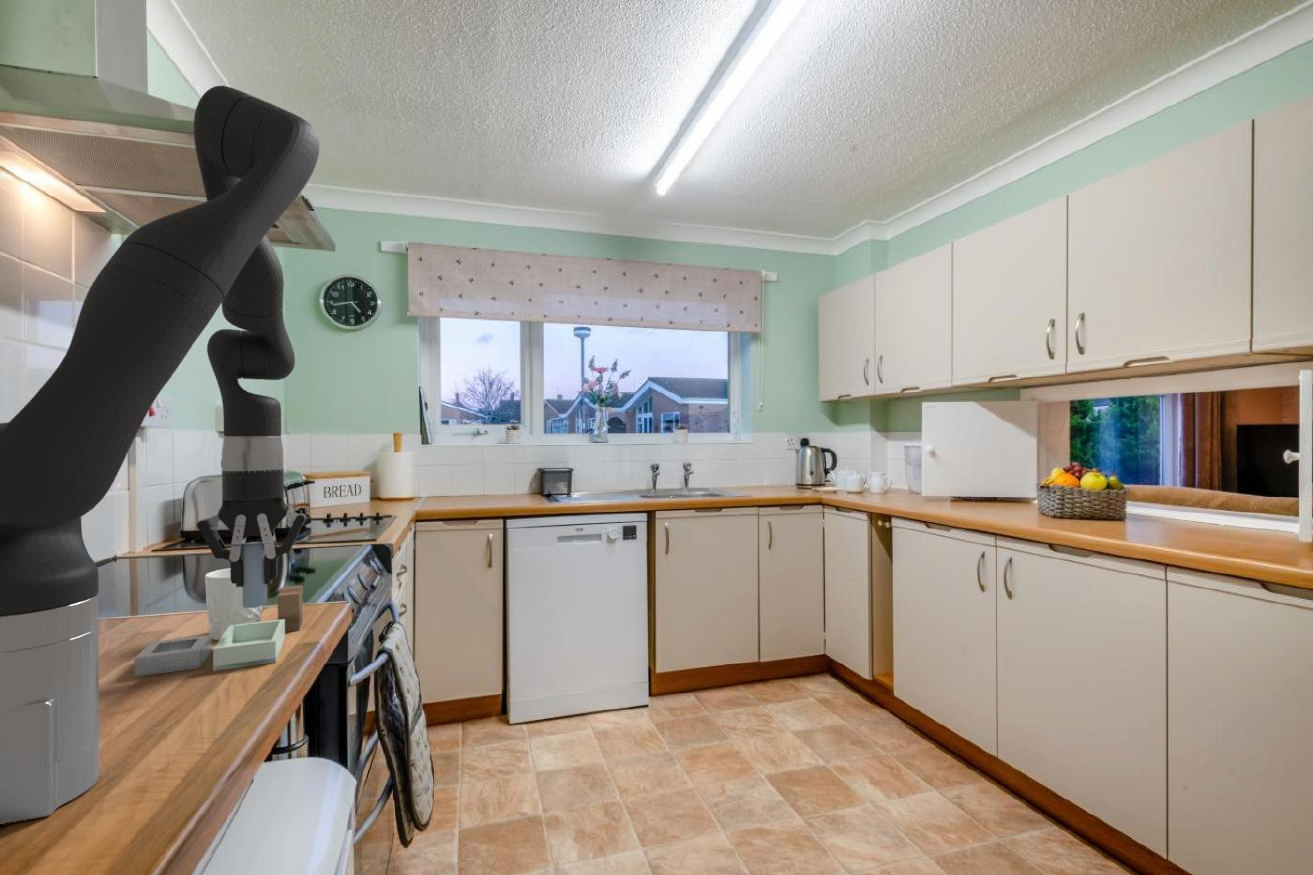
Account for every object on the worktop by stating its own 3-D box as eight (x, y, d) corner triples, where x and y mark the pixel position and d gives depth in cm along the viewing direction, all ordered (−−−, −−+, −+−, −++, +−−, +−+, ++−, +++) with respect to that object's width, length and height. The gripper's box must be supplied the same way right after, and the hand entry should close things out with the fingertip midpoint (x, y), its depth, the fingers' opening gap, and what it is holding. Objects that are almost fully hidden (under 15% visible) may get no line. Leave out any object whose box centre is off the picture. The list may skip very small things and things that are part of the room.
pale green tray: (275, 662, 85) (275, 641, 85) (213, 671, 81) (213, 649, 81) (284, 638, 95) (284, 619, 95) (229, 645, 91) (229, 625, 91)
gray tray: (199, 668, 82) (199, 649, 82) (134, 677, 79) (134, 658, 79) (211, 651, 89) (211, 634, 89) (151, 659, 86) (151, 641, 86)
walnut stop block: (299, 630, 98) (299, 593, 98) (277, 632, 97) (277, 595, 97) (302, 620, 104) (302, 585, 104) (282, 622, 102) (282, 587, 102)
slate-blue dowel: (265, 606, 87) (264, 544, 87) (240, 608, 86) (240, 546, 86) (268, 600, 90) (268, 541, 90) (244, 603, 89) (244, 543, 89)
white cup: (226, 644, 92) (225, 579, 92) (193, 638, 95) (193, 574, 95) (275, 629, 99) (275, 568, 99) (244, 623, 102) (244, 564, 102)
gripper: (310, 464, 94) (311, 574, 94) (201, 467, 88) (202, 584, 88) (306, 467, 88) (307, 585, 88) (187, 470, 81) (188, 596, 82)
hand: (254, 584), depth 88 cm, fingers closed on slate-blue dowel, 3 cm apart
